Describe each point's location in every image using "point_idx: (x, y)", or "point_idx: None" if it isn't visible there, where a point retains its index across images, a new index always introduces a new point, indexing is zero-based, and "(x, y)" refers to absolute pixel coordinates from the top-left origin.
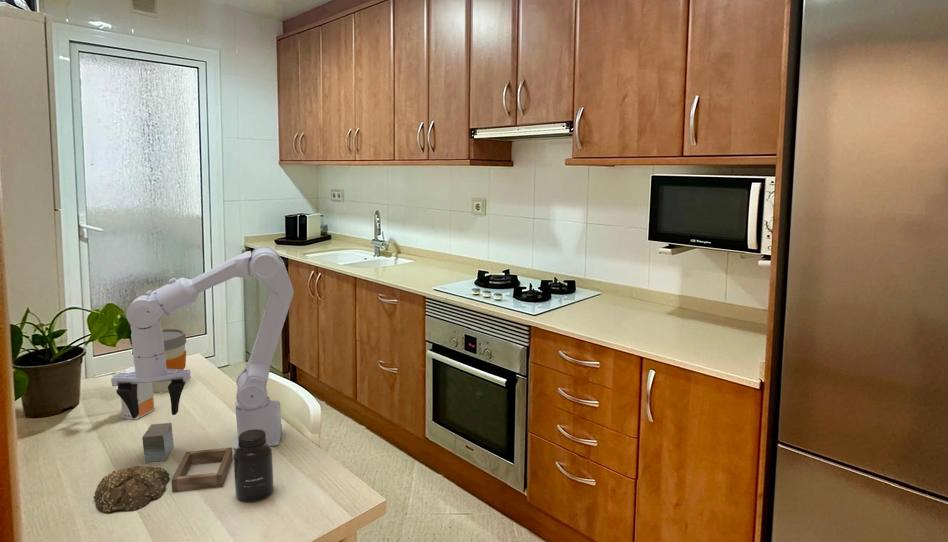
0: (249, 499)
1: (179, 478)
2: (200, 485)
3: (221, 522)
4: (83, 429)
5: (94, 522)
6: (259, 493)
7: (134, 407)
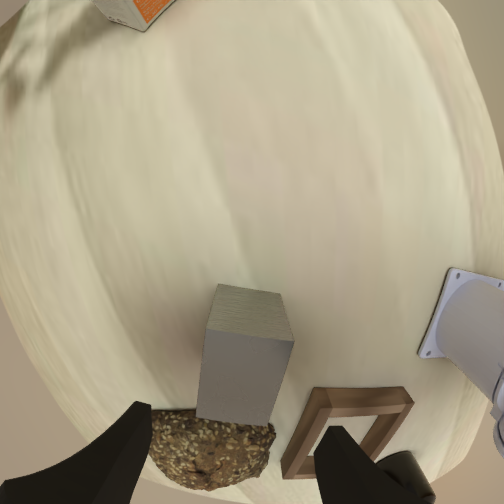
0: None
1: (297, 477)
2: None
3: None
4: (31, 78)
5: None
6: None
7: (136, 470)
